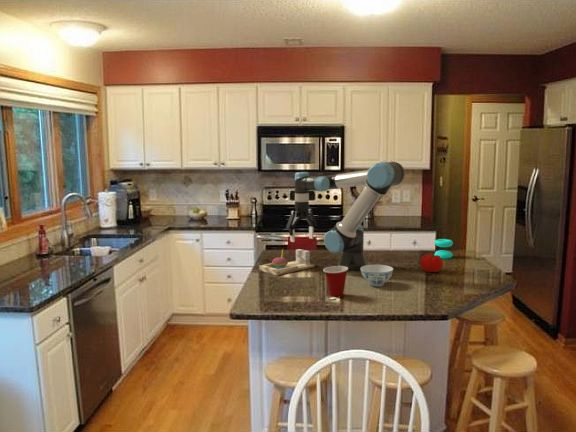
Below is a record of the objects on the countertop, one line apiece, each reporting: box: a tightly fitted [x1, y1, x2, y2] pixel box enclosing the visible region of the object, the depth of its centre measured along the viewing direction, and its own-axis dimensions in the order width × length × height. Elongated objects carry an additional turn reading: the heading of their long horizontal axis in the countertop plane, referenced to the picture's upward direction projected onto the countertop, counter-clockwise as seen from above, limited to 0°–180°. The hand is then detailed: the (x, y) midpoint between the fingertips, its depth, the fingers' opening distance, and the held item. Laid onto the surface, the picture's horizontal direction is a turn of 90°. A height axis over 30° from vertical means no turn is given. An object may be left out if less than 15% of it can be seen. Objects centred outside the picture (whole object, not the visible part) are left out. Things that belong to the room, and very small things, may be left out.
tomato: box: [419, 253, 444, 273], centre depth 252 cm, size 11×11×9 cm
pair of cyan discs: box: [433, 238, 454, 260], centre depth 285 cm, size 10×10×10 cm
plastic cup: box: [322, 265, 349, 298], centre depth 214 cm, size 11×11×12 cm
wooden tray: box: [258, 248, 316, 276], centre depth 263 cm, size 15×26×8 cm, turn 130°
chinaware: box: [360, 264, 394, 287], centre depth 230 cm, size 15×15×8 cm
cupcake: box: [271, 249, 289, 269], centre depth 259 cm, size 9×8×12 cm
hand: (301, 240), depth 269 cm, fingers open, 13 cm apart
